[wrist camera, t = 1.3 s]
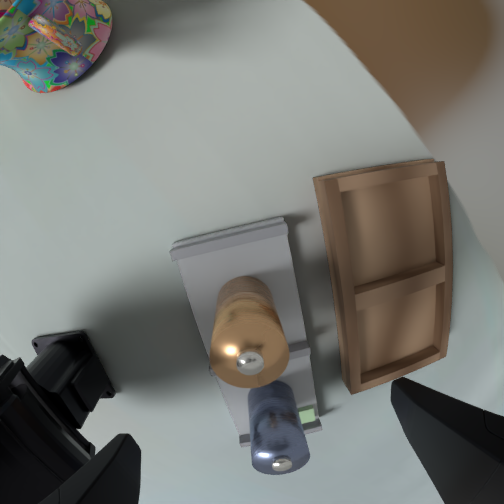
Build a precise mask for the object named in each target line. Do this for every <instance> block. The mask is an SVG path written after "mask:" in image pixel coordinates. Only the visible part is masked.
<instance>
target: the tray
mask: <svg viewBox="0 0 504 504" xmlns="http://www.w3.org/2000/svg"><path fill="white" fill-rule="evenodd" d="M313 182H314V186H315V191H316V196H317V201H318V207H319V212H320V217H321V223H322V228H323V234H324V239H325V245H326V251H327V258H328V264H329V270H330V277H331V284H332V291H333V298H334V306H335V314H336V322H337V331H338V340H339V349H340V360H341V371H342V380H343V381H344V383H345V385H346V387H347V388H348V390H349V392H350V394H351V395H352V394H355V393H358V392H361V391H364V390H367V389H370V388H373V387H375V386H378V385H381V384H383V383H386V382H389V381H391V380H394V379H396V378H399V377H401V376H404V375H406V374H408V373H411V372H413V371H415V370H418V369H420V368H422V367H425V366H427V365H429V364H431V363H433V362H435V361H437V360H440V359H442V358H444V357H446V354H447V347H448V339H449V329H450V319H451V305H452V282H453V249H452V226H451V212H450V201H449V192H448V184H447V176H446V170H445V163H444V161H441V162H434V159H424V160H416V161H409V162H402V163H395V164H388V165H382V166H376V167H369V168H363V169H357V170H352V171H346V172H340V173H335V174H329V175H324V176H319V177H314V178H313Z"/></svg>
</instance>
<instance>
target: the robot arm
mask: <svg viewBox="0 0 504 504" xmlns="http://www.w3.org/2000/svg"><path fill="white" fill-rule="evenodd" d="M80 336H81V337H82V338H83V339H81V338H80ZM32 345H33V347H34V349H35V351H36V353H37V355H38V356H37V357H36V358H35V359H34V360H33V361H32V362H31V363H30V364H29V365H28V366H27V367H25V366H24V362H23V361H22V359H21V358H20V357H19V358H17V359H15V360H11V359H9V358H7V357H6V356H4V355H3V354H2V355H1V356H0V504H138V501H139V494H140V480H141V450H140V447H139V446H138V444H137V443H136V442H135V440H134V439H133V437H132V436H131V435H130V434H118V435H117V436H116V437H114V438H113V439H112V440H111V441H110V442H109V443H108V444H107V445H106V446H105V447H104V448H103V449H101V450H100V451H99V452H98V453H97V454H96V455H95V446H94V445H93V444H92V443H91V442H88V441H87V440H86V439H85V438H84V437H83V436H82V435H81V434H80V433H79V431H78V430H77V429H81V428H82V426H83V424H84V422H85V420H86V418H87V416H88V415H89V413H90V412H93V410H94V408H95V406H96V404H97V403H98V401H99V399H100V398H113V397H114V396H115V394H116V392H115V390H114V388H113V386H112V384H111V382H110V381H109V378H108V377H107V375H106V373H105V371H104V369H103V367H102V365H101V363H100V361H99V359H98V357H97V356H96V354H95V352H94V349H93V347H92V345H91V343H90V341H89V339H88V337H87V335H86V334H85V333H84V332H83V331H77V332H70V333H64V334H57V335H50V336H43V337H36V338H34V339H33V340H32ZM391 403H392V405H393V408H394V410H395V412H396V414H397V417H398V419H399V421H400V424H401V426H402V428H403V431H404V433H405V435H406V437H407V439H408V441H409V443H410V444H411V446H412V448H413V449H414V451H415V453H416V454H417V456H418V458H419V459H420V461H421V463H422V465H423V466H424V468H425V470H426V472H427V473H428V475H429V477H430V478H431V480H432V482H433V484H434V485H435V487H436V489H437V491H438V493H439V494H440V496H441V498H442V500H443V501H444V503H445V504H504V417H503V416H500V415H497V414H494V413H492V412H489V411H486V410H484V411H483V409H481V408H478V407H476V406H473V405H470V404H468V403H465V402H463V401H460V400H458V399H455V398H453V397H450V396H448V395H445V394H443V393H441V392H438V391H436V390H433V389H431V388H429V387H426V386H424V385H421V384H419V383H417V382H414V381H412V380H410V379H408V378H405V377H401V378H398V379H396V380H394V381H393V382H392V385H391Z"/></svg>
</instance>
